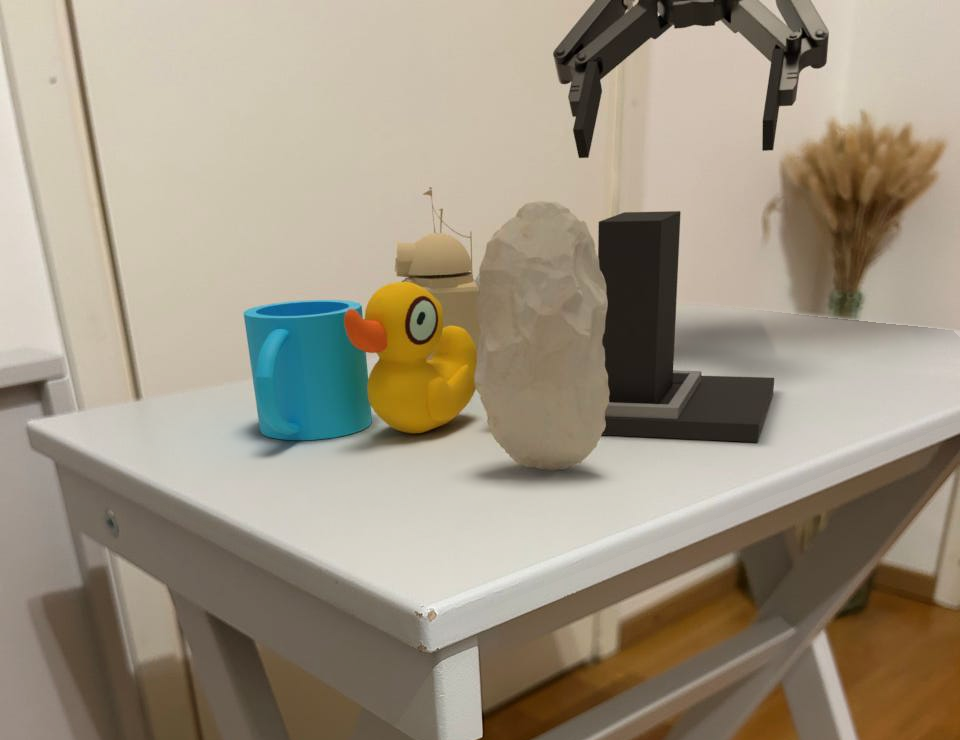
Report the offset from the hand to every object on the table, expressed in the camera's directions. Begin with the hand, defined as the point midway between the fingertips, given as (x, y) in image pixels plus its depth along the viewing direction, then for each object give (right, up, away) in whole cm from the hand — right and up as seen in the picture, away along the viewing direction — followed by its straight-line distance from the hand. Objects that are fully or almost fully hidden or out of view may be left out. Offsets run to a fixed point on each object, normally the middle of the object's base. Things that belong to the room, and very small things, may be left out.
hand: (671, 140), depth 73 cm
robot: (-18, -14, +13) cm, 26 cm away
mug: (-26, -22, -2) cm, 34 cm away
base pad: (-2, -20, 0) cm, 20 cm away
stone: (-10, -26, -12) cm, 30 cm away
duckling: (-18, -22, -2) cm, 29 cm away
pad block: (-3, -19, -1) cm, 19 cm away
